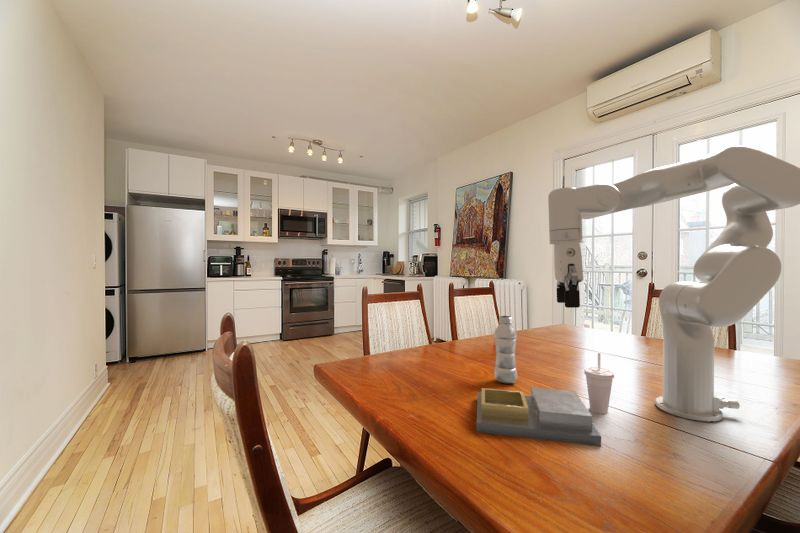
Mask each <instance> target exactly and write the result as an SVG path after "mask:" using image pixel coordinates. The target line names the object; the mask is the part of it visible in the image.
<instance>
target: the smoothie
mask: <svg viewBox="0 0 800 533" xmlns="http://www.w3.org/2000/svg"><path fill="white" fill-rule="evenodd" d="M583 370H584V372H583V374H584V375H585V379H586V385H587V392H588V393H587V394H588V403H589V409H590V411H591V412H593V413H596V414H602V415H603V414H608V411H609V404H610V399H611V394H612V393H611V392H612V387H613V379H615V373H614V371H612V370H610V369H606V368H602V367H601V352H597V367H586V368H584V369H583Z"/></svg>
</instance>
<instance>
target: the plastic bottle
mask: <svg viewBox="0 0 800 533" xmlns="http://www.w3.org/2000/svg"><path fill="white" fill-rule="evenodd" d="M498 323H499V324H498V326H497V327H496V328H495V330H494V332H493V336H494V343H495V351H496V352H495V353H496V356H495V366H494V373H493V374H494V379H495V380H496V381H497V382H499V383H502V384H513V383H516V381H517V379H518V370H517V365H516V363H517V362H516V345H517V336H518V334H517V331H516V329H515V328H514V327H513V325H512V324H513V316H510V315H500V316H499V317H498Z"/></svg>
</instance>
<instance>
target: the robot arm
mask: <svg viewBox="0 0 800 533" xmlns="http://www.w3.org/2000/svg"><path fill="white" fill-rule="evenodd" d="M724 187H725V188H726V187H727V188H726V189H725V191H724V192H723V194H722V197H721V205H722V207H723V211H724V213H725V217H726V224H725V227H724V229H723V230H722V232H721V233H720V234H719V235H718V236H717V237H716V239H714V241H713V242H712V243H711V244H710V246H709V247H708V248H707V249H706V250H705V251H703V253H702V254H701V255H700V256H699V257H698V259H697V260H696V262H694V263H695V264H694V265H693V274H694V276H695V278H696V279H697V280H699V281H688V280H687V281H686V280H685V281H675V282H673V283H670V284H668V285H666V286H665V287H664V288H663V289H662V291H660V294H659V297H658V306H659V313H660V316H661V321H662V337H663V338H662V343H663V344H662V395H659V396H658V397H655V399H654V402H655V403H654V404H655V406H657V407H658V409H660V410H662V411H664V412H666V413H668V414H671V415H673V416H677V417H680V418H683V419H687V420H692V421H698V422H709V423H710V422H711V421H713V422H719V421H721V420H723V418H724V414H723V411H722V410H723V409H724V408H728V409H735V410H738V409H740V406H741V405H740V402H739V401H738V400H736V399H725V397H724V396H718V395H716V394H715V337H714V333H713V331H712V327H714V328H727V327H730V326H733V325H735V324H737V323H738V322H740V321H741V320H742V319H743V318H745V316H747V315H748V314H749V312H751V311H752V310H753V308H755V306H757V304H758V303H759V302H760V301H761V300H762V299H763V298H764V297H765V295H767V294H768V293H769V292H770V290H771V289H773V287H774V286H775V285H776V284H777V282H778V281H779V278H780V275H781V273H782V261H781V259H780V257H779V256H778V255H777V253H776V252H774V251H773V250H771V249H769V248H768V246H769V245H770V243H771V242H772V240H773V236H774V231H773V226H772V224H771V220H770V219H769V215H768V213H767V212H770V211H777V210H783V209H788V208H793V207H795V206H798V205H800V167H798V166H796V165H794V164H792V163H790V162H787V161H785V160H783V159H780V158H778V157H776V156H774V155H772V154H770V153H768V152H765V151H762V150H760V149H756V148H753V147H751V146H746V145H738V144H734V145H728V146H725V147H723V148H721V149H718V150H715V151H714V152H710V153H708V154H706V155H703V156H699V157H695V158H692V159H689V160H684V161H680V162H677V163H673V164H668V165H664V166H660V167H655V168H652V169H649V170H646V171H644V172H642V173H639V174H637V175H634V176H632V177H630V178H628V179H624V180H622V181H619V182H616V183H614V184H609V183H597V184H593V185H587V186H582V187H569V186H568V187H567V186H566V187H561V188H556V189H554V190H551V191H550V192H549V194H548V196H547V197H548V198H547V199H548V200H547V202H548V203H547V204H548V232H549V245H553V246H554V248H553V249H554V250H553V253H554V254H553V257H554V258H553V260H554V261H553V262H554V263H553V266H554V278H555V280H556V302H557V303H558V304H563V303H564V307H565V308H568V309H569V308H573V309H574V308H578V309H579V308H580V307H581V298H580V297H581V296H580V285H579V284H580V283H582V282H583V281H584V270H583V269H584V268H583V255H582V248H581V243H583V241H584V240H583V220H592V219H594V218H599V217H602V216H606V215H611V214H614V213H619V212H624V211H626V210H633V209H637V208H643V207H649V206H653V205H657V204H662V203H666V202H671V201H673V200H674V201H675V200H677V199H681V198H684V197H689V196H694V195H698V194H701V193H702V194H703V193H706V192H710V191H714V190H718V189H720V188H724ZM711 423H712V422H711Z"/></svg>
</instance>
